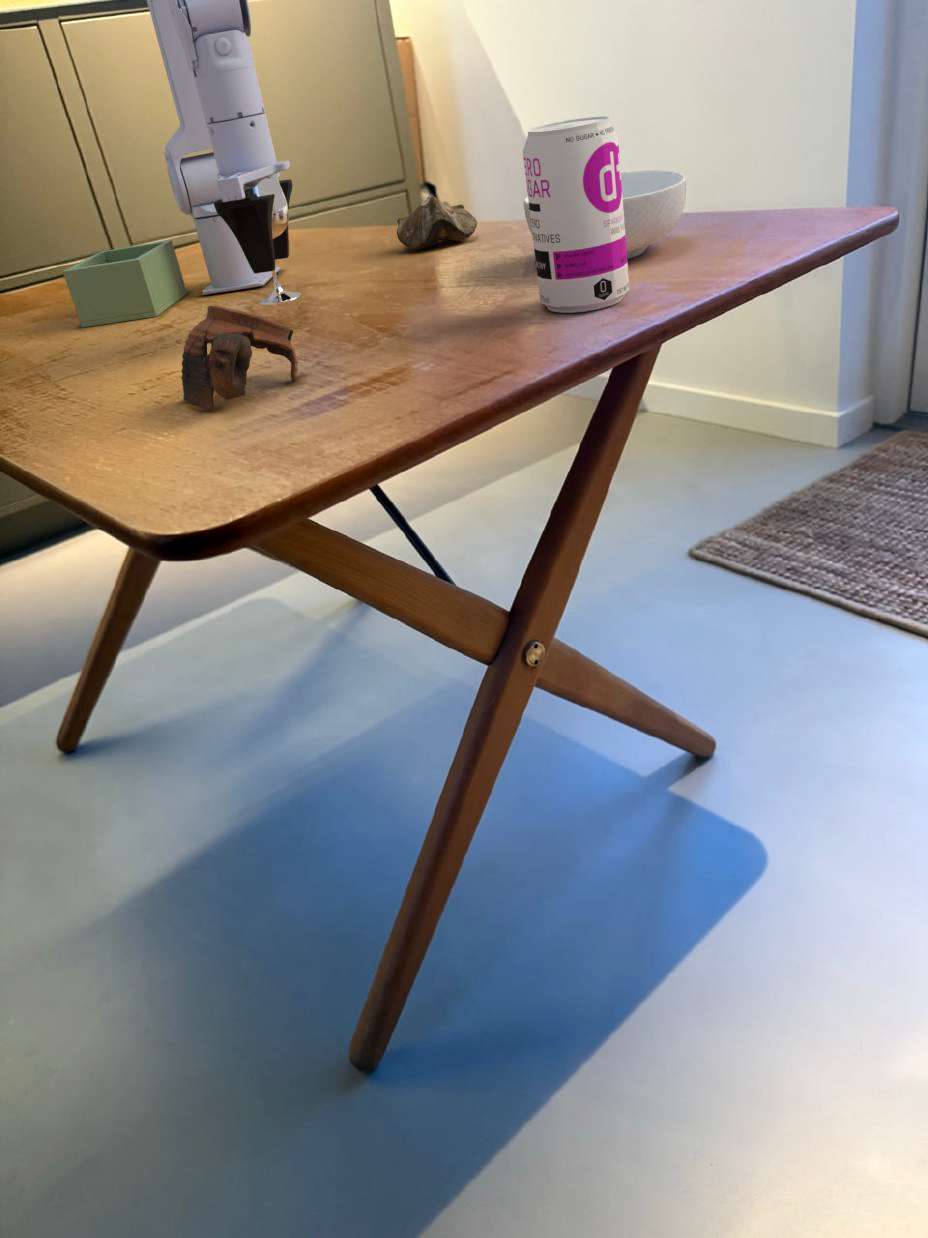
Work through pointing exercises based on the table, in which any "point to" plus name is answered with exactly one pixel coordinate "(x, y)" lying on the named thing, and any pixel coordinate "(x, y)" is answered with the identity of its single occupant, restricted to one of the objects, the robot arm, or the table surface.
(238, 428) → the table surface
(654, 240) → the cereal bowl
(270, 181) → the wineglass
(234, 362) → the reddish-brown arched part
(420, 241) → the fossilized seashell
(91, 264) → the bin
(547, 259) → the supplement can
